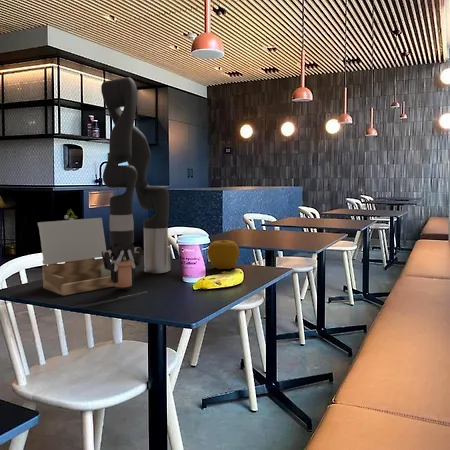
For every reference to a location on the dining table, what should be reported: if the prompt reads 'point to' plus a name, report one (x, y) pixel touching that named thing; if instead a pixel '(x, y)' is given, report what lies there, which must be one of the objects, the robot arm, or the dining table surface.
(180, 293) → the dining table surface
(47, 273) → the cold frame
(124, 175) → the robot arm
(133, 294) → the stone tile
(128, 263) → the terracotta pot
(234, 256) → the apple
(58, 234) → the lid
